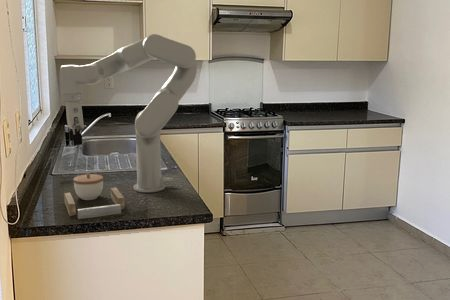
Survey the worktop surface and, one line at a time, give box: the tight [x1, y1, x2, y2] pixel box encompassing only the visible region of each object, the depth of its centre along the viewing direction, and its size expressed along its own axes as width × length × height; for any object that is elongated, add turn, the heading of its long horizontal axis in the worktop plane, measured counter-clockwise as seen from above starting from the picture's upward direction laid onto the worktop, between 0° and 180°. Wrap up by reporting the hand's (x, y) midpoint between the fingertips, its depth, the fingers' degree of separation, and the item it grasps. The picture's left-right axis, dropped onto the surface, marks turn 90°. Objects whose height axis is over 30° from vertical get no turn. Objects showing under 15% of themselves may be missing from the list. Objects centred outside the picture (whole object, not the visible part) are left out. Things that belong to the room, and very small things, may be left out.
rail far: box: [63, 192, 77, 217], centre depth 170 cm, size 2×14×4 cm, turn 24°
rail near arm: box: [110, 187, 125, 210], centre depth 176 cm, size 2×14×4 cm, turn 24°
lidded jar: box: [73, 172, 104, 201], centre depth 182 cm, size 11×11×9 cm
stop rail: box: [76, 203, 122, 220], centre depth 163 cm, size 14×2×3 cm, turn 114°
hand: (75, 142), depth 188 cm, fingers open, 9 cm apart
